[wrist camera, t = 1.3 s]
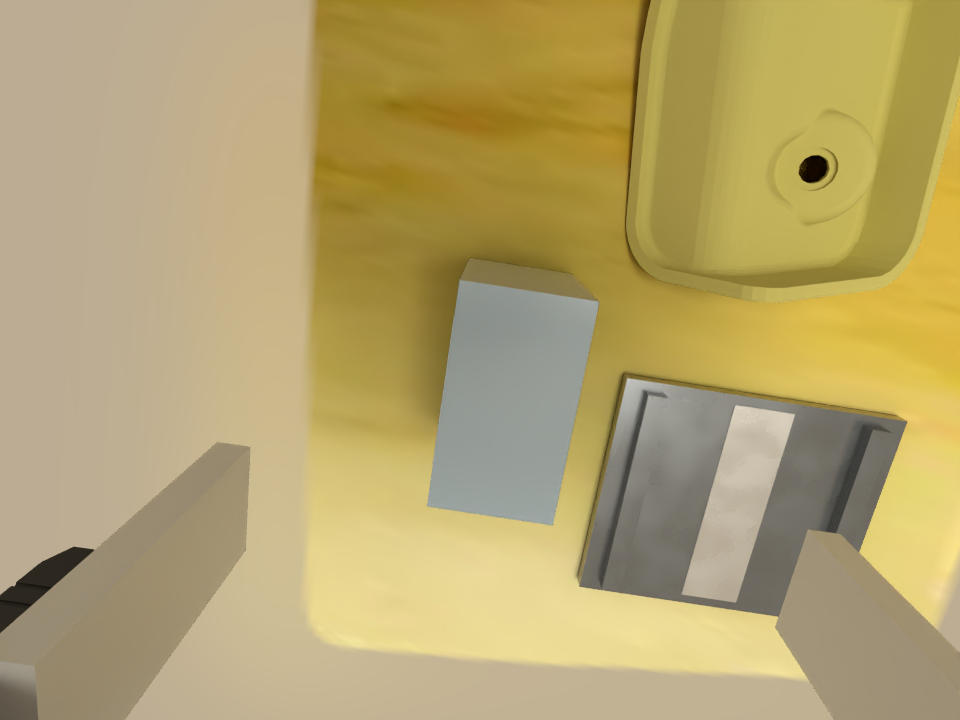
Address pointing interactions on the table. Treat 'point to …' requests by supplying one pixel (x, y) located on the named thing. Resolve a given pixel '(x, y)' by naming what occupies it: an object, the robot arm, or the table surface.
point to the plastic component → (789, 142)
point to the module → (511, 390)
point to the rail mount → (728, 491)
